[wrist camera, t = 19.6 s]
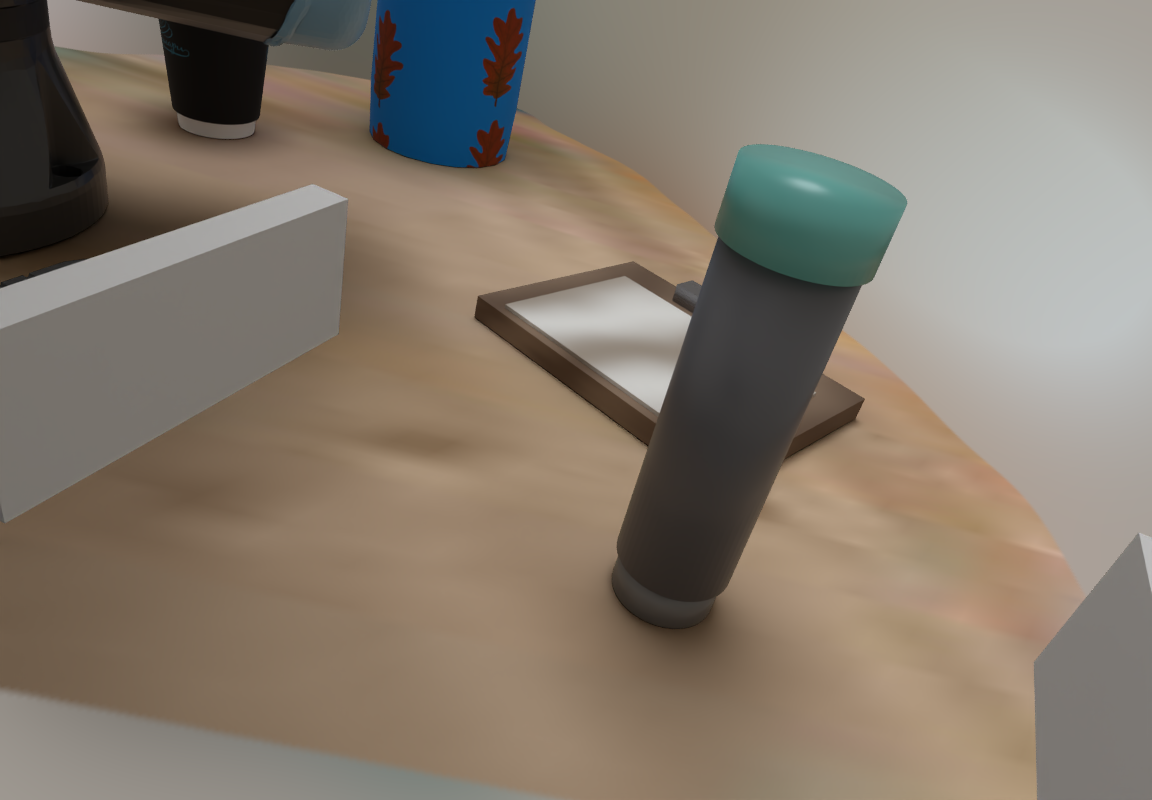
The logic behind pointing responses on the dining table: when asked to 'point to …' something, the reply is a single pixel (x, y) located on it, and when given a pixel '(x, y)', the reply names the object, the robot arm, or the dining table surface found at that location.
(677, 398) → the marker
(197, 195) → the dining table surface
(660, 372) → the brown picture frame
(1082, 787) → the robot arm
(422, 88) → the thermos
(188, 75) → the dixie cup
